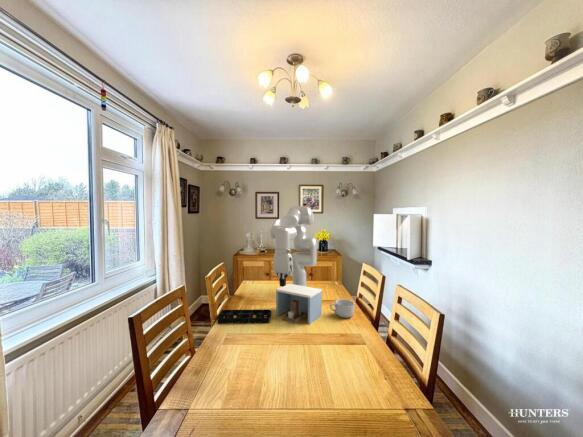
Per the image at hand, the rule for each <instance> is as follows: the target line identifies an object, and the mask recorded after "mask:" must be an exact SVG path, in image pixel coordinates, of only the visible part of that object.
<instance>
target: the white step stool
mask: <svg viewBox="0 0 583 437" xmlns="http://www.w3.org/2000/svg"><path fill="white" fill-rule="evenodd" d="M322 291H323V289H322V288H316V287H310V286H307V285H306V286H300V285H294V284H293V283H286V285H285V286H283V287H282V286H279V287H278V288H276V290H275V298H276V299H275V316H277V317H279V316H281V315H282V314H283V313H286V312H287V311H290V310H291V301H293V300H298V301H299V307H301V312H305V313H307V324H308V325H311V324H312V323H313V322H315V321H316V320H318V319H319V318H320V317H322V314H323V312H322V301H323V300H322V296H323V294H322V293H323V292H322Z"/></svg>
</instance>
